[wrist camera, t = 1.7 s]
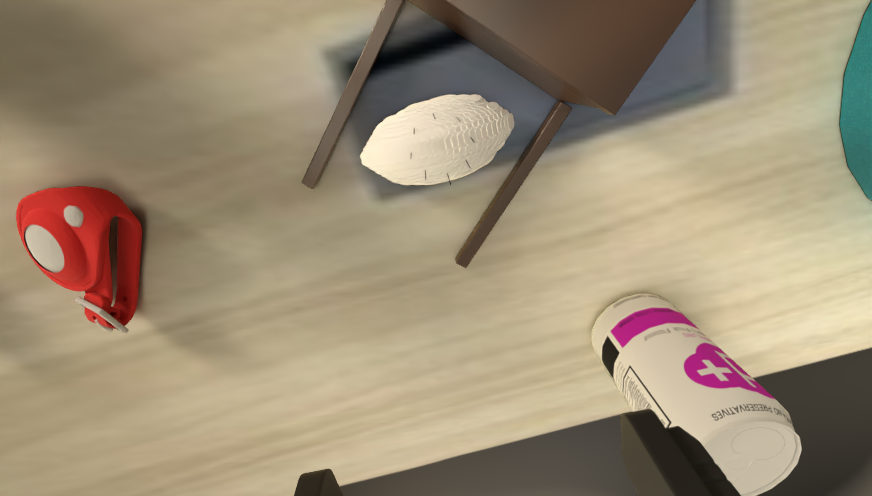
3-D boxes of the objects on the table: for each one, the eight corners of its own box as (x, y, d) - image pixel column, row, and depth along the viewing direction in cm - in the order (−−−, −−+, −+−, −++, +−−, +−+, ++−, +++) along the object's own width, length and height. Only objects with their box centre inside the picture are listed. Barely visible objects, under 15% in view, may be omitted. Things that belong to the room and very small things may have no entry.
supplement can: (618, 277, 38) (734, 397, 24) (691, 306, 39) (840, 435, 25) (572, 347, 40) (653, 490, 27) (642, 371, 42) (753, 518, 28)
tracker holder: (-15, 236, 32) (23, 159, 28) (48, 219, 36) (90, 149, 32) (94, 354, 34) (147, 298, 29) (144, 325, 38) (197, 273, 33)
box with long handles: (304, 180, 33) (231, 251, 20) (538, -322, 23) (698, -834, 10) (464, 263, 36) (491, 369, 24) (731, -140, 26) (1035, -342, 13)
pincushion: (373, 195, 34) (365, 217, 28) (349, 118, 31) (336, 128, 26) (519, 158, 33) (538, 174, 28) (506, 77, 31) (524, 78, 25)
